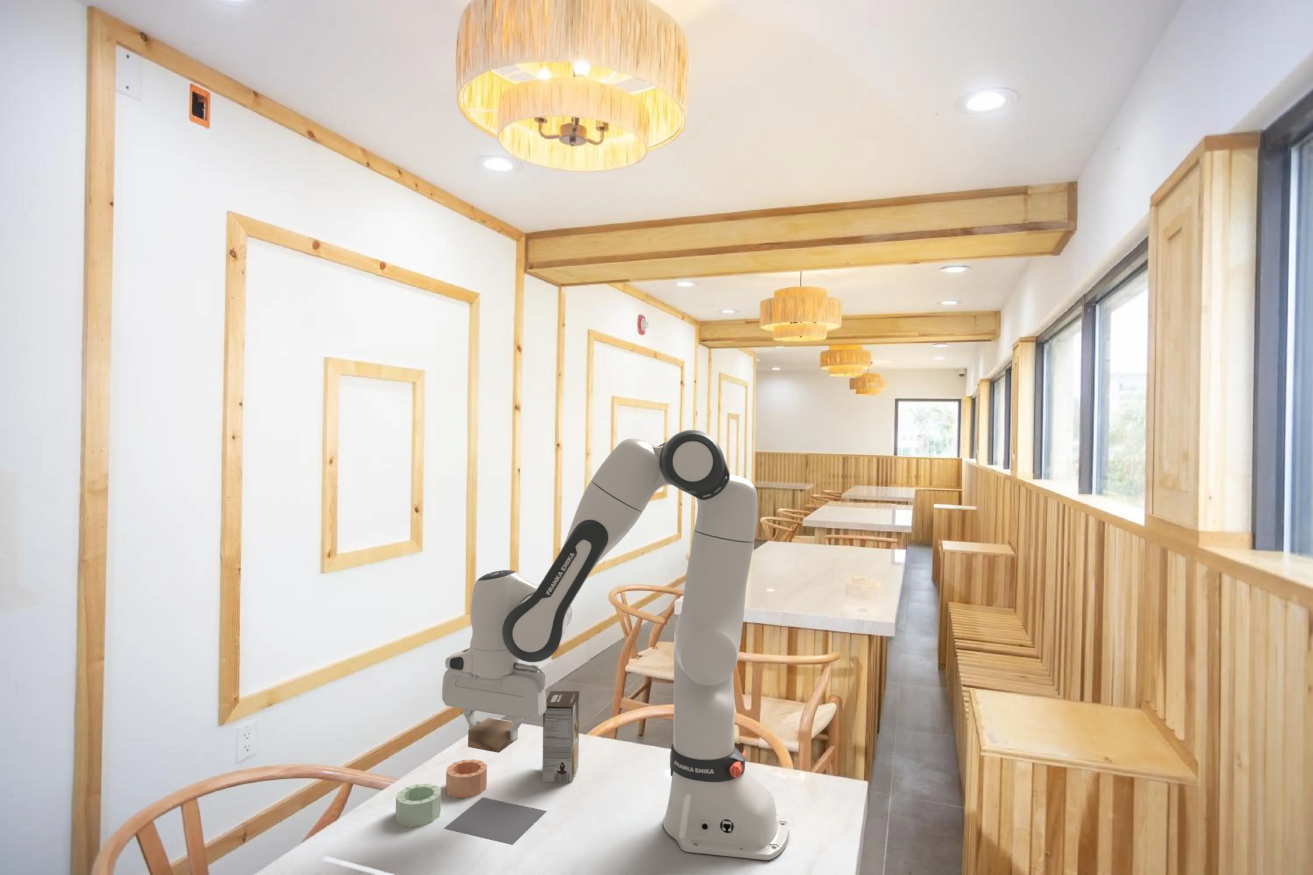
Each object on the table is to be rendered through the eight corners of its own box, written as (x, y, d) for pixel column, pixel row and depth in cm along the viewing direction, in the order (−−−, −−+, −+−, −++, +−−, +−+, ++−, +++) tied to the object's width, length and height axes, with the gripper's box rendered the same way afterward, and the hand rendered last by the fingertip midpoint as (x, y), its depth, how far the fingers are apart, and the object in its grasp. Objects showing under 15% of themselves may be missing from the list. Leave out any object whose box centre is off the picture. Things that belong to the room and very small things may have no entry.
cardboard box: (517, 738, 135) (517, 722, 135) (498, 752, 129) (499, 735, 129) (487, 733, 137) (488, 717, 137) (467, 746, 131) (468, 730, 131)
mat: (546, 814, 135) (547, 810, 135) (512, 847, 124) (512, 844, 124) (482, 800, 140) (482, 796, 140) (443, 831, 128) (443, 827, 128)
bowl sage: (448, 812, 135) (449, 788, 135) (422, 832, 128) (422, 807, 128) (414, 804, 138) (415, 780, 138) (387, 824, 130) (387, 799, 130)
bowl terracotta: (493, 785, 145) (494, 763, 146) (471, 803, 138) (472, 779, 138) (461, 778, 148) (462, 756, 148) (438, 796, 141) (438, 772, 141)
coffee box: (549, 764, 155) (550, 689, 155) (578, 765, 155) (580, 690, 155) (541, 785, 146) (542, 705, 146) (573, 785, 146) (574, 705, 146)
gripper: (553, 661, 132) (552, 737, 132) (458, 649, 139) (456, 721, 139) (536, 672, 126) (534, 751, 126) (437, 658, 133) (436, 733, 133)
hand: (493, 735), depth 133 cm, fingers closed on cardboard box, 6 cm apart
